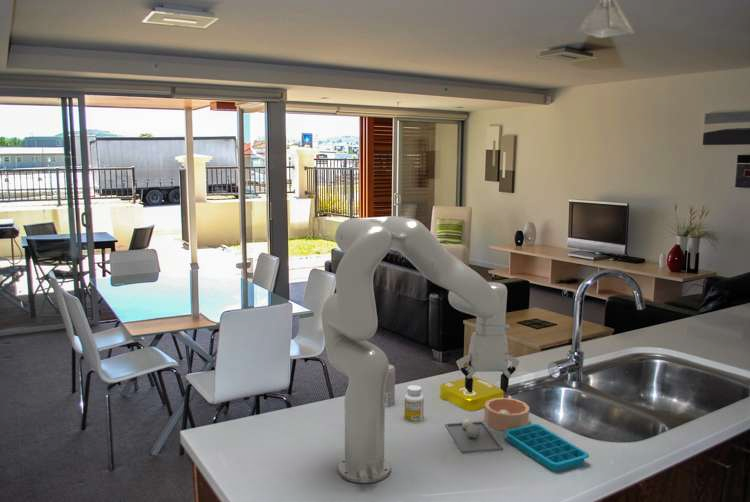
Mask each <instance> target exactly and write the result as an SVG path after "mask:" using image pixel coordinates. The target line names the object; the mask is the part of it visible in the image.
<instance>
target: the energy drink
mask: <svg viewBox="0 0 750 502" xmlns="http://www.w3.org/2000/svg"><path fill="white" fill-rule="evenodd" d="M395 392H396V368H395V366H394V365H393V364H391V363H389V371H388V377H387V381H386V387H385V408H386V407H387V408H388V407H392V406H394V405H395V402H396V396H395V395H396V393H395Z"/></svg>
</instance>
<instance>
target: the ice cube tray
mask: <svg viewBox="0 0 750 502" xmlns="http://www.w3.org/2000/svg"><path fill="white" fill-rule="evenodd" d="M503 433H504V435H506V436H507V441H508V442H509V443H510V444H511V445H512V446H515V447H516V448H518V449H519V450H520V451H522V452H523V453H524V454H527V456H530V457H531V458H533V459H534V460H536V461H537V462H539V463H540V464H541V465H543V466H544V467H545V468H547V469H548V470H551V471H553V472H559V471H563V470H566V469H570V468H574V467H576V468H579V467H583V466H584V463H585V459H588V458H589V457H590V454H589V453H588V452H586V451H585V450H583V449H581V448H579V446H576V445H575V444H573V443H571V442H570V441H568V440H566V439H565V438H563V437H561V436H559V435H558V434H555V433H554V432H552V431H551V430H550V429H547V428H545V427H544V426H543V425H540V424H539V423H538V424H537V423H531V424H528V425H526V426H522V427H518V428H514V429H509V430H505V431H504V432H503Z"/></svg>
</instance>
